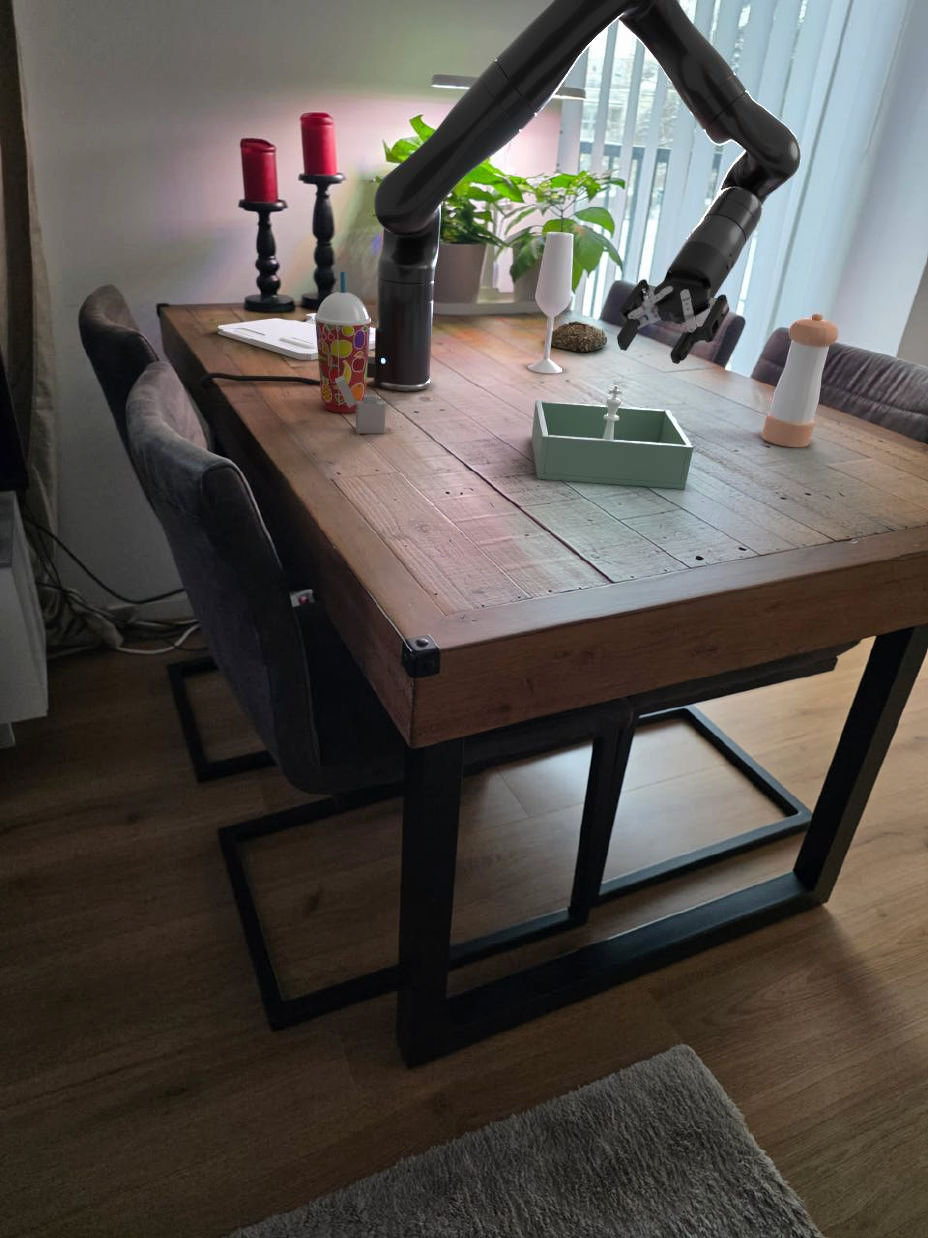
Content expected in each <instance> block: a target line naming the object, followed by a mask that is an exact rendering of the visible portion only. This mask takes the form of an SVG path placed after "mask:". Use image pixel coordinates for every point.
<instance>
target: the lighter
mask: <svg viewBox="0 0 928 1238" xmlns="http://www.w3.org/2000/svg"><path fill="white" fill-rule="evenodd" d="M335 381H336V383H337V385H338V387H339V389H340V391H341V393H342V395H343V397H344V399H345V401H346V403H347V405H348V407H349V408H350V407H352V406H354V405H356V412H355V432H356V434H360V435H361V434H385V433H386V409H387V407H386V402H385V401H384V400H381V397H380V396H379V395H377V394H366V395H364V401H355V399H354V397H353V395H352V392H351V390H350V388H349V386H348V384H347V382H346V380H345V378H344V376H343V375H342V376H340V377H338V378H336V379H335Z"/></svg>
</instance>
